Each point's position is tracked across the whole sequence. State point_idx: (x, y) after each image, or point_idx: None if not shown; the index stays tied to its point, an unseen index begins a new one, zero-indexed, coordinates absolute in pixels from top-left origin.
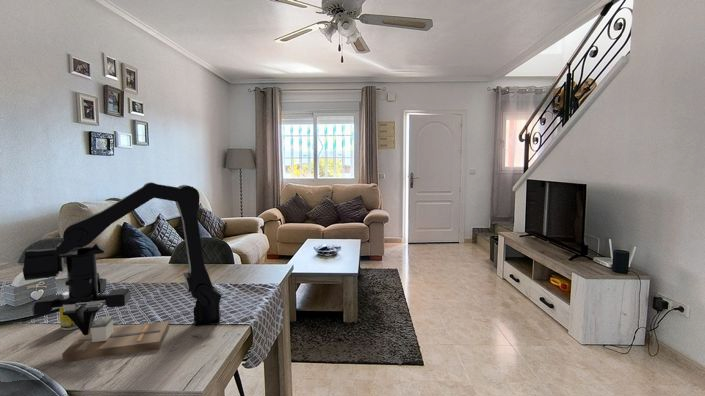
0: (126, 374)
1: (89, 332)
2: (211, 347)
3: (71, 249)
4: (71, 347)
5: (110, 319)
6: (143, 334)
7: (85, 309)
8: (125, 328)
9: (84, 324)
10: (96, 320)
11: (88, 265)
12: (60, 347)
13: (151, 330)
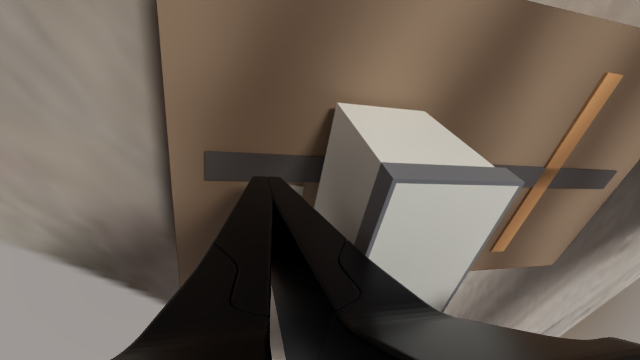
0: None
1: (282, 181)
2: (626, 260)
3: None
4: (198, 242)
5: (478, 247)
6: (539, 197)
7: (269, 357)
8: (499, 56)
9: (283, 328)
10: (372, 257)
11: None
12: (30, 57)
13: (588, 155)
